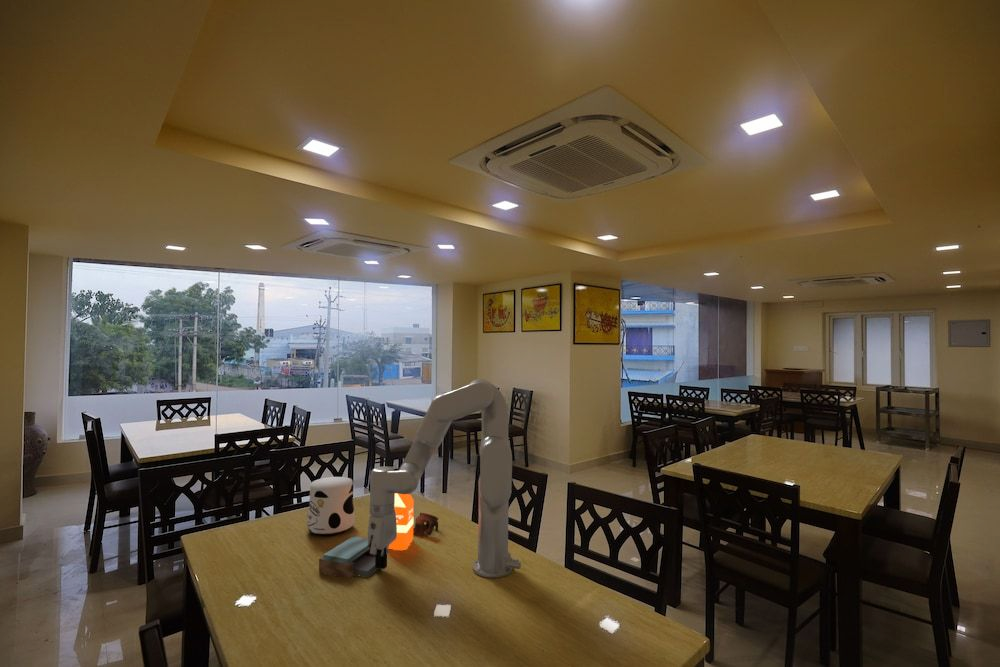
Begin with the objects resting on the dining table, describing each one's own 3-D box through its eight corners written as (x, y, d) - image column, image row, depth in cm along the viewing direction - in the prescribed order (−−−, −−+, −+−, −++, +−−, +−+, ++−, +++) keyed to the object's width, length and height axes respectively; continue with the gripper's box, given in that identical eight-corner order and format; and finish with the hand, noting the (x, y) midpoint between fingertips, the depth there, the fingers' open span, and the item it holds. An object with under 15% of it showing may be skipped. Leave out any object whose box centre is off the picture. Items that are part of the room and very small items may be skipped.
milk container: (295, 535, 174) (297, 486, 174) (326, 519, 191) (327, 474, 191) (336, 541, 169) (337, 491, 169) (363, 524, 185) (364, 478, 186)
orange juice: (413, 540, 171) (414, 484, 172) (406, 550, 162) (407, 491, 163) (392, 539, 172) (393, 483, 172) (384, 549, 163) (385, 490, 164)
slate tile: (383, 565, 152) (383, 558, 152) (367, 579, 143) (367, 571, 144) (345, 559, 156) (346, 552, 156) (328, 572, 148) (328, 564, 148)
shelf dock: (378, 557, 157) (378, 540, 157) (350, 578, 142) (351, 559, 142) (348, 552, 160) (349, 535, 160) (318, 572, 146) (319, 553, 146)
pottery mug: (406, 533, 179) (414, 511, 183) (427, 540, 182) (434, 518, 186) (420, 535, 169) (427, 511, 173) (442, 543, 173) (449, 519, 177)
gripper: (379, 517, 140) (378, 580, 139) (404, 501, 154) (403, 559, 154) (357, 514, 142) (356, 576, 142) (384, 499, 156) (383, 555, 156)
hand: (381, 567), depth 148 cm, fingers closed
